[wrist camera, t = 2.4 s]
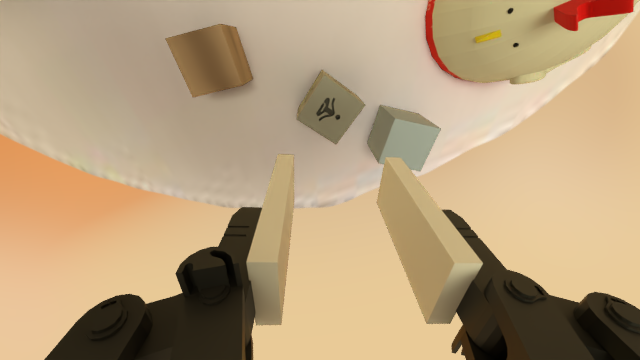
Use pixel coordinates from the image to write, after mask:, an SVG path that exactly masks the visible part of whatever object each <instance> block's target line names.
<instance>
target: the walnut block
mask: <svg viewBox="0 0 640 360" xmlns="http://www.w3.org/2000/svg"><path fill="white" fill-rule="evenodd" d="M166 41H167V43H168V45H169V47H170V50H171V52H172V54H173V56H174V58H175V60H176V62H177V65H178V67H179V69H180V71H181V73H182V75H183V77H184V80H185V82H186V84H187V86H188V88H189V90H190V92H191V94H192V97H197V96H201V95H205V94H209V93H213V92H217V91H221V90H225V89H230V88H234V87H238V86H242V85H244V84H245V83H247V82H249V81H250V80H252V79H253V77H252V74H251V71H250V68H249V65H248V62H247V59H246V56H245V53H244V50H243V47H242V44H241V41H240V38H239V35H238V32H237V29H236V27H232V26H228V25H223V24H218V25H214V26H211V27H207V28H203V29H199V30H196V31H192V32H188V33H184V34H181V35H177V36H173V37H169V38H166Z"/></svg>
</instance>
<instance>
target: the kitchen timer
mask: <svg viewBox="0 0 640 360" xmlns="http://www.w3.org/2000/svg"><path fill="white" fill-rule="evenodd" d="M638 1H639V0H429V1H428V6H427V11H426V16H425V18H426V39H427V42H428V45H429V48H430V51H431V54H432V57H433V58H434V59H435V61H436V62H437V63H438V65H439V66H440V67H441V69H442V70H444V71H446V72H447V73H449V74H450V75H452V76H454V77H455V78H459V79H464V80H469V81H474V82H479V83H488V82H496V81H504V80H510V83H511V84H524V83H530V82H535V81H538V80H541V79H543V78H544V77H545V76H546V73H548V72H549V71H551V70H553V69H554V68H556V67H558V66H560V65H562V64H564V63H566V62H568V61H570V60H572V59H574V58H576V57H578V56H580V55H582V54H584V53H585V52H587V51H588V50H589V49H590V48H591V45H592V44H594V43H595V42H597V41H598V40H600V39H601V38H603V37H604V36H605V35H606V34H607V33H608V32H610V31H611V30H612V29H613V28H614V27H615V26H616V25H617V24H618V23H619V22H620V21H621V20H622V19H624V18H625V17H626V16H627V14H628V13H631V12H633V7H634V6H635V4H636V3H637V2H638Z"/></svg>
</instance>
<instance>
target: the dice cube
mask: <svg viewBox="0 0 640 360" xmlns="http://www.w3.org/2000/svg"><path fill="white" fill-rule="evenodd" d="M364 106H365V104H364V103H363V102H362V101H361V99H360V98H359V97H358V96H357V95H356V94H354V93H353V92H352V91H350V90H349V89H347V88H346V87H345V86H343V85H342V84H341V83H339V82H338V81H337V80H335V79H334V78H333V77H331V76H330V75H329V74H327V73H326V72H324V71H323V70H322V71H321V72H320V74H319V75H318V77H317V79H316V80H315V82H314V83H313V85H312V87H311V88H310V90H309V92H308V93H307V95H306V96H305V98H304V100H303V101H302V103H301V105H300V106H299V108H298V114H297V120H299V121H300V122H302V123H303V124H305V125H306V126H308V127H310V128H311V129H313V130H314V131H316V132H317V133H319V134H321V135H322V136H324V137H325V138H327V139H328V140H330V141H332V142H333V143H335V144H337V143H338V141H339V140H340V139H341V137H342V136H343V135H344V133H345V132H346V131H347V129H348V128H349V126H350V125H351V124H352V122H353V121H354V120H355V118H356V117H357V116H358V114H359V113H360V112H361V110H362V109H363V108H364Z"/></svg>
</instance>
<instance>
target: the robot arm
mask: <svg viewBox="0 0 640 360" xmlns="http://www.w3.org/2000/svg"><path fill="white" fill-rule="evenodd" d="M377 204H378V206H379V209H380V211H381V214H382V216H383V219H384V221H385V224H386V226H387V229H388V231H389V233H390V236H391V238H392V241H393V243H394V246H395V248H396V250H397V253H398V255H399V257H400V260H401V263H402V265H403V267H404V270H405V272H406V274H407V277H408V280H409V282H410V285H411V287H412V289H413V292H414V294H415V297H416V299H417V301H418V304H419V306H420V309H421V311H422V314H423V316H424V318H425V321H426V323H427V324H446V323H447V324H448V323H449V324H450V323H451V321H452V319H453V317H454V315H455V314H456V312H457V314H458V316H459V317H460V319H461V321H462V323H463V326H462V327H461V329H460V330H459V332H458V334H457V335H456V337H455V339H454V341H453V343H452V353H456V352H457V351H458V349H459V348H460V346H461V345H462V347H463V349H462V352H461V355H465V358H466V360H640V310H639V309H638V308H636V307H635V306H633V305H631V304H629V303H627V302H625V301H624V300H621V299H619V298H617V297H614V296H611V295H608V294H604V293H598V292H594V293H590V294H588V295H587V296H586V297H585V298H584V299H583V300H582V301H581V302H580V303H578V302H574V301H570V300H567V299H563V298H559V297H555V296H551V295H549V294H548V293H547V292H546V291H545V290H544V289H543V288H542V287H541V286H540V285H538V284H537V283H536V282H534V281H533V280H532V279H530V278H528V277H526V276H524V275H522V274H520V273H517V272H514V271H510V270H507V269H506V268H505V267H504V266H503V265H502V264H501V262H500V261H499V260H498V259H497V258H496V257H495V256H494V254H493V253H492V252H491V251H490V250H489V249H488V247H487V246H486V245H485V244H484V243H483V241H482V240H480V238H478V236H477V235H476V233H475V232H474V231H473V230H471V228H470V226H469V225H468V224H467V223H466V222H465V221H464V219H463V218H461V217H460V216H458V215H457V214H455V213H454V212H452V211H451V210H441V209H440V207H439V206H438V205H437V203H436V202H435V201H434V200H433V198H432V197H431V196H430V195H429V193H428V192H427V191H426V189H425V188H424V187H423V186H422V184H421V183H420V182H419V180H418V179H417V178H416V177H415V175H414V174H413V173H412V171H411V170H410V169H409V168H408V166H407V165H406V164H405V162H404V161H403V160H402V159H401V158H398V157H386V158H385V163H384V168H383V173H382V178H381V183H380V189H379V194H378V199H377ZM293 208H294V155H289V154H278V156H277V159H276V163H275V166H274V170H273V173H272V176H271V180H270V183H269V187H268V190H267V193H266V197H265V200H264V204H263V207H262V208H254V207H242V208H240V209H239V210H238V211H237V212H236V213H235V214H234V215H233V216H232V218H231V220H230V222H229V224H228V228H227V229H226V231H225V233H224V237H222V240H221V242H220V244H219V246H218V247H209V248H206V249H202V250H199V251H198V252H196V253H194V254H192V255H190V256H189V257H188V258H187V259H186V260H184V261H183V262H182V263H181V264H180V266H179V268H178V270H177V272H176V276H177V279H178V281H179V284H180V287H181V289H182V292H183V293H181V294H178V295H176V296H173V297H170V298H166V299H162V300H159V301H155V302H152V303H148V304H145V302H144V301H143V300H142V299H141V298H140V297H139V296H136V295H132V294H125V295H119V296H115V297H113V298H110V299H107V300H105V301H103V302H101V303H99V304H98V305H96V306H95V307H93V308H92V309H90V310H89V311H88V312H87V313H85V314H84V315H83V316H82V317H81V318H80V319H79V320H78V321H77V322H76V323H75V324H74V326H73V327H72V328H71V329H70V330H69V331H68V333H67V334H66V335H65V336H64V337H63V338H62V340H61V341H60V342H59V343H58V345H56V347H55V348H54V349H53V350H52V351H51V352H50V354H49V355H48V356H47V357H46V358H45V360H253V341H252V336H251V333H252V328H253V323H254V318H255V322H256V325H281V323H282V313H283V304H284V294H285V285H286V275H287V266H288V255H289V247H290V237H291V227H292V218H293Z"/></svg>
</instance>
